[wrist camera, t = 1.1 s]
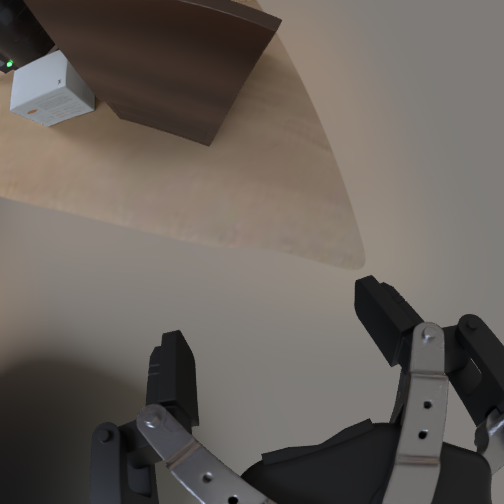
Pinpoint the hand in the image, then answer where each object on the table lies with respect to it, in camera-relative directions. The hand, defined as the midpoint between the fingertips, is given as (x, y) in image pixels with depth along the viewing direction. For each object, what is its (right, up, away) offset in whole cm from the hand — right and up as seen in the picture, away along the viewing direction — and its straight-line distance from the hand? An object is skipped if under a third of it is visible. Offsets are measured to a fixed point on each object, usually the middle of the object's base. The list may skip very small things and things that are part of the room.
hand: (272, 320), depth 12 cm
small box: (-26, +24, +15) cm, 38 cm away
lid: (-8, +15, +2) cm, 17 cm away
